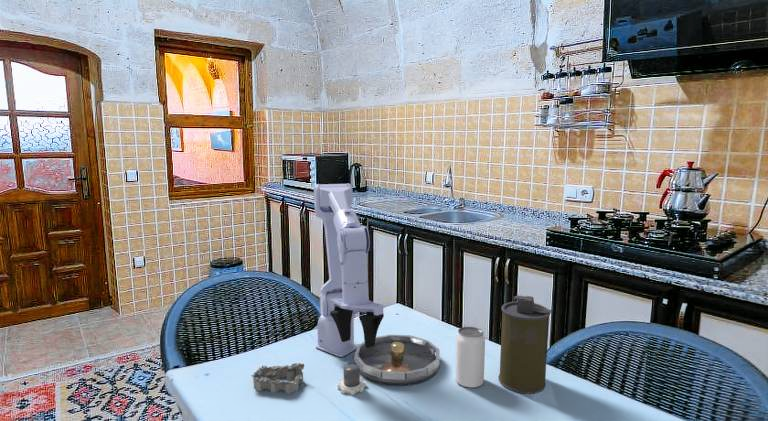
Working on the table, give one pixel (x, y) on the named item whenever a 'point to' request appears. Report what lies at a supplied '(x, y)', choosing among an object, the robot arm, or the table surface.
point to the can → (470, 357)
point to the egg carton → (278, 372)
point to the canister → (524, 345)
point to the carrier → (398, 360)
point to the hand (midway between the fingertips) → (357, 343)
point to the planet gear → (351, 380)
